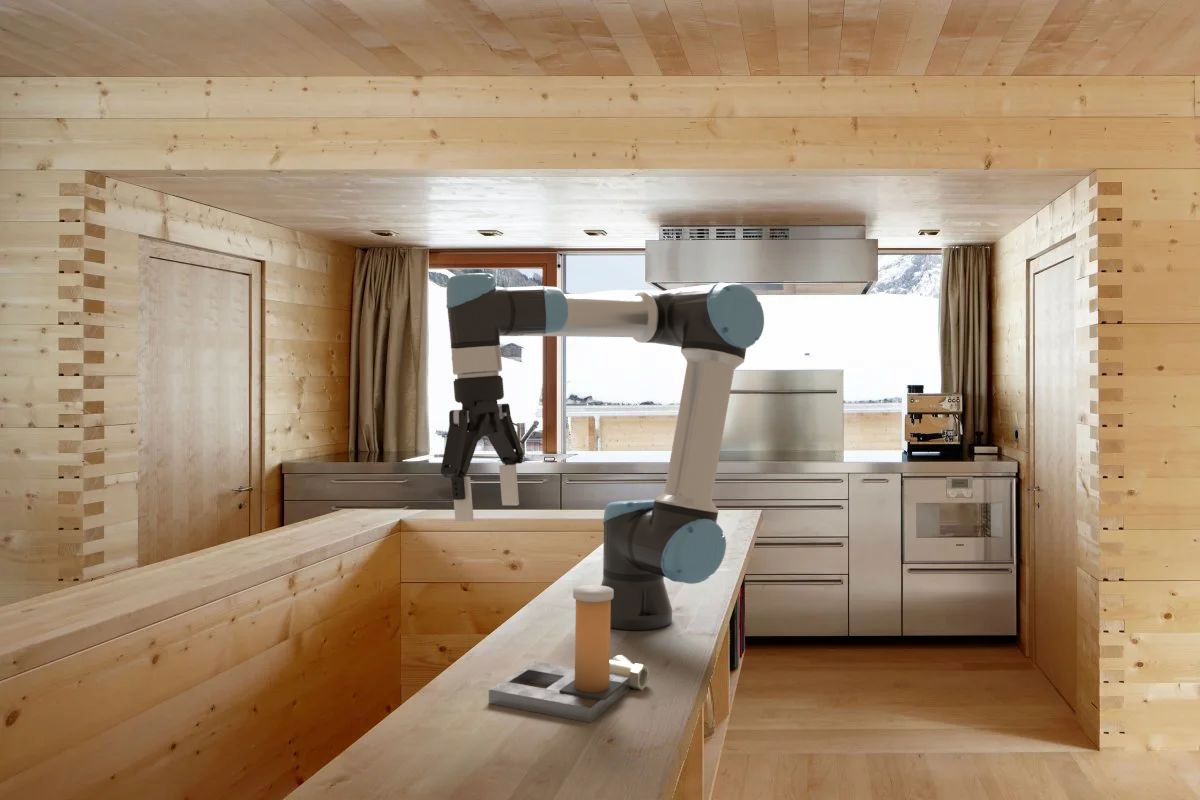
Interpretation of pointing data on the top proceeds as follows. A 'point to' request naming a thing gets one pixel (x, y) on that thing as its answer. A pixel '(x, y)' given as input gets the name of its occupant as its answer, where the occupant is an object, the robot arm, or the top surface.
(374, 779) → the top surface
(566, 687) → the pad
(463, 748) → the top surface
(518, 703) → the plate
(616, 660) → the pipe fitting
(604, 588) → the orange pill bottle
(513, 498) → the robot arm
